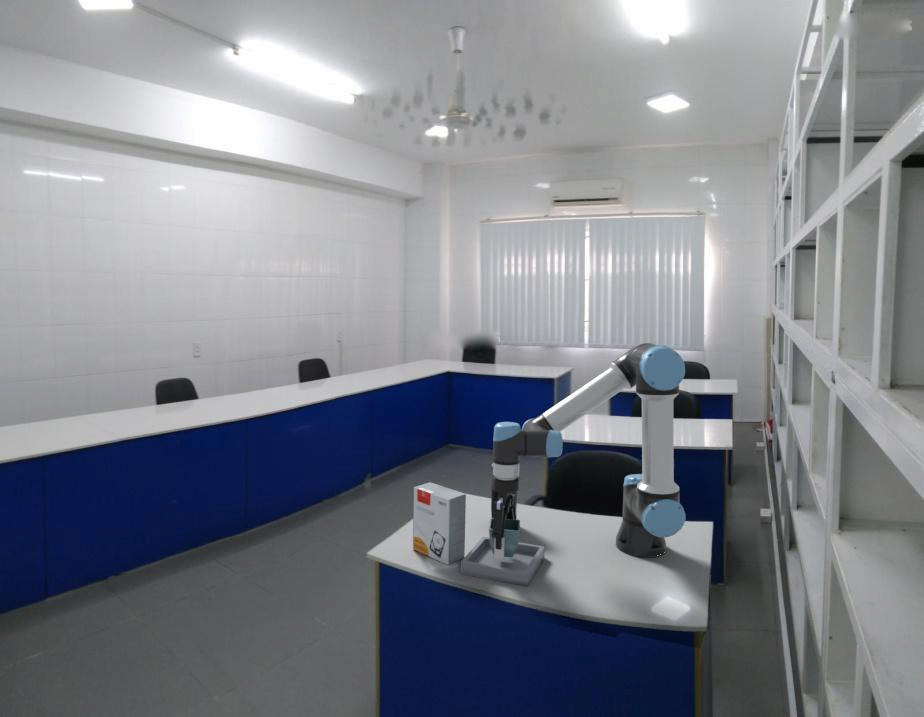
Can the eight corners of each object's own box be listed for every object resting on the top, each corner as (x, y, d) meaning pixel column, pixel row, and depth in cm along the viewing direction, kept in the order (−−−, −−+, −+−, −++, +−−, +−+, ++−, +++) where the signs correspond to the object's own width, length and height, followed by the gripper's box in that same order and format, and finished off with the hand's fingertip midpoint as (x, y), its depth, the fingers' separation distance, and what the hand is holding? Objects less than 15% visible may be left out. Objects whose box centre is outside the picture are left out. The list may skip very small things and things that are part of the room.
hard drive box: (411, 550, 182) (412, 486, 180) (429, 542, 188) (430, 481, 186) (448, 565, 171) (448, 498, 170) (465, 557, 177) (466, 492, 175)
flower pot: (519, 548, 176) (520, 519, 175) (519, 561, 167) (520, 530, 166) (489, 546, 177) (490, 517, 176) (488, 559, 168) (488, 529, 167)
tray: (544, 557, 178) (544, 546, 177) (527, 586, 160) (528, 574, 159) (483, 547, 185) (483, 536, 184) (460, 573, 167) (460, 561, 166)
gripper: (504, 465, 181) (502, 536, 183) (481, 485, 161) (479, 565, 163) (528, 468, 178) (526, 540, 181) (507, 489, 158) (505, 570, 160)
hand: (504, 552), depth 172 cm, fingers closed on flower pot, 9 cm apart
